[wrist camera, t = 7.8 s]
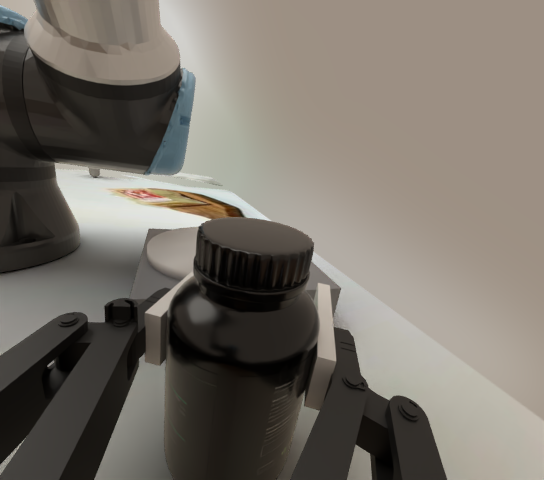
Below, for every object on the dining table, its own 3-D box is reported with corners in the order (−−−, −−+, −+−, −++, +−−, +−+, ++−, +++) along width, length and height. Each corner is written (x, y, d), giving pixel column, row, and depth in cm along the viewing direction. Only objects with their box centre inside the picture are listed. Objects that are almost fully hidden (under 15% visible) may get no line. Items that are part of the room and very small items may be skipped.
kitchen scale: (130, 345, 19) (128, 287, 18) (148, 257, 33) (148, 221, 32) (331, 322, 26) (343, 279, 24) (276, 257, 40) (281, 227, 38)
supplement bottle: (274, 378, 18) (306, 217, 15) (306, 498, 12) (377, 273, 8) (173, 385, 17) (180, 205, 13) (150, 530, 10) (148, 264, 7)
